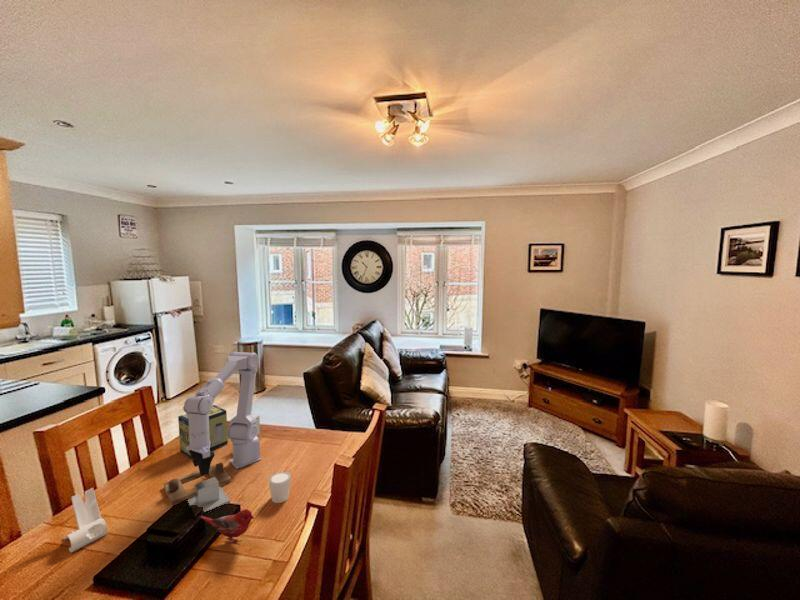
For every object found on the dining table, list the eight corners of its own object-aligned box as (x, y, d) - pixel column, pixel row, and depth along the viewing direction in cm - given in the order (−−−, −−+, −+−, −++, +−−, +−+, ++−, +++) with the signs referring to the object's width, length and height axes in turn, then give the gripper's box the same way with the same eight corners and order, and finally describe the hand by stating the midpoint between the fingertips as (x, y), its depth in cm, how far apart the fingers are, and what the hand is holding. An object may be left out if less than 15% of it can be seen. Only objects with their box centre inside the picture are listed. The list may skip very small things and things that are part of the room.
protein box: (179, 451, 141) (177, 416, 140) (216, 437, 154) (215, 404, 153) (190, 459, 135) (188, 422, 134) (228, 443, 148) (227, 409, 147)
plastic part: (72, 555, 89) (68, 514, 88) (60, 539, 95) (57, 500, 94) (107, 536, 96) (105, 498, 95) (95, 522, 101) (92, 486, 100)
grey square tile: (220, 488, 117) (220, 486, 117) (230, 502, 110) (230, 500, 110) (187, 502, 110) (187, 499, 110) (195, 518, 103) (195, 515, 103)
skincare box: (252, 447, 145) (251, 420, 144) (243, 446, 145) (242, 419, 144) (260, 440, 151) (259, 415, 150) (252, 439, 151) (251, 414, 150)
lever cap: (215, 493, 113) (214, 476, 113) (219, 499, 110) (218, 481, 110) (195, 502, 109) (194, 484, 108) (198, 508, 106) (197, 490, 106)
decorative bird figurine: (252, 549, 91) (250, 514, 91) (195, 540, 94) (193, 506, 94) (258, 540, 94) (257, 507, 93) (203, 532, 97) (201, 499, 96)
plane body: (219, 466, 130) (219, 455, 130) (231, 481, 121) (230, 469, 120) (163, 487, 117) (163, 475, 117) (172, 505, 108) (171, 492, 108)
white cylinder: (295, 493, 115) (294, 473, 114) (282, 506, 108) (281, 485, 108) (278, 488, 117) (278, 469, 116) (264, 501, 110) (264, 481, 110)
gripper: (179, 427, 113) (181, 465, 114) (191, 443, 103) (193, 484, 104) (203, 421, 118) (204, 457, 119) (216, 435, 108) (218, 475, 109)
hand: (201, 469), depth 112 cm, fingers open, 7 cm apart
